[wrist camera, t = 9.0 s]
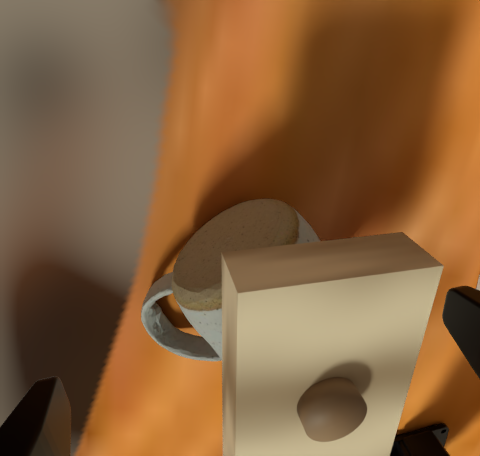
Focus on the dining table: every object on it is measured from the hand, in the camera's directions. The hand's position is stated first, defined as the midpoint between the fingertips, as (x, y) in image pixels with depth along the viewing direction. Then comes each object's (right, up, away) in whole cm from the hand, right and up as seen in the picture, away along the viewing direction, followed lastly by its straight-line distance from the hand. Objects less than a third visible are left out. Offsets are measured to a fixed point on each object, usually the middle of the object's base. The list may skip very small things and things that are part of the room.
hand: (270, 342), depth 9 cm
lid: (+2, -3, +8) cm, 9 cm away
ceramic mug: (-1, 0, +15) cm, 15 cm away
